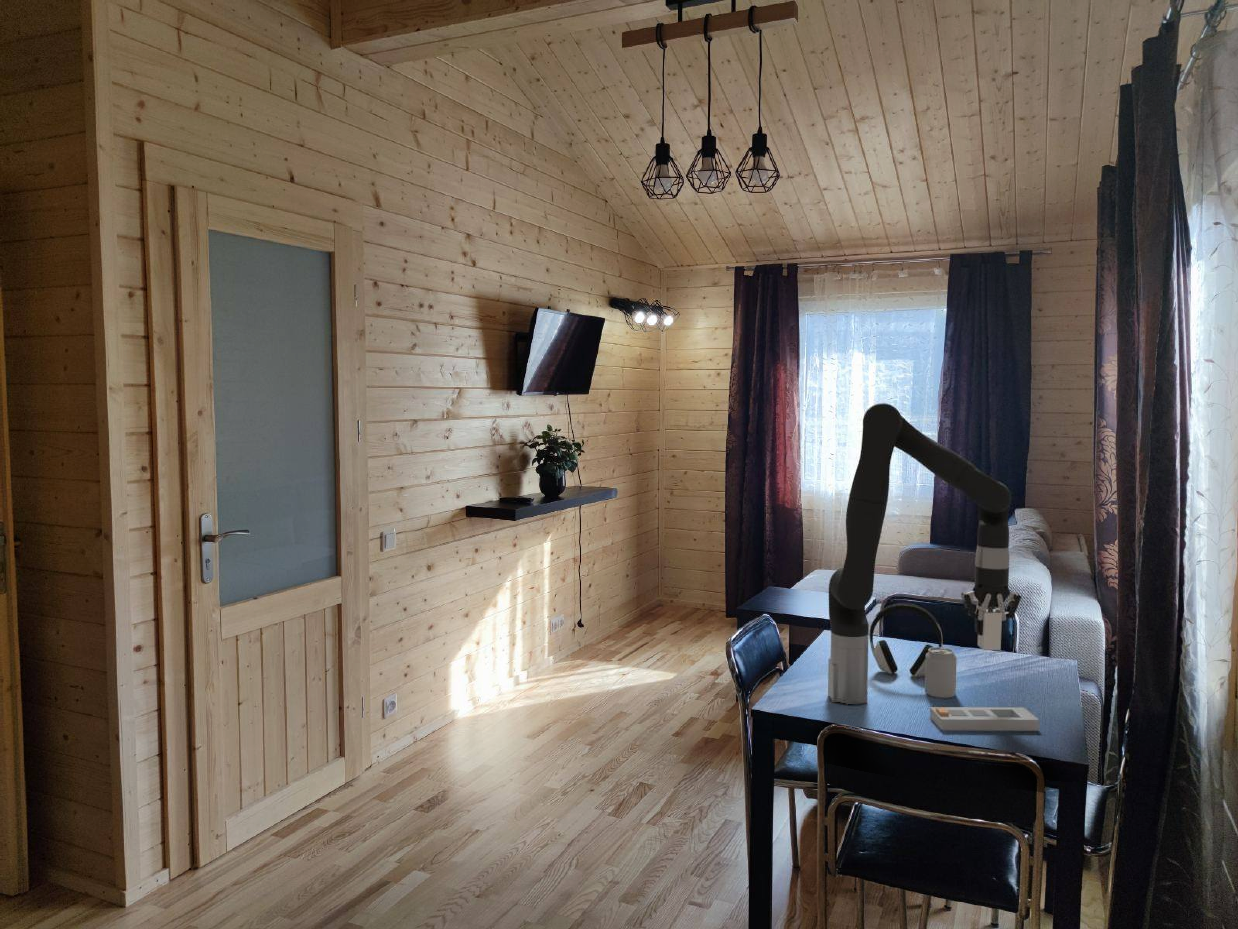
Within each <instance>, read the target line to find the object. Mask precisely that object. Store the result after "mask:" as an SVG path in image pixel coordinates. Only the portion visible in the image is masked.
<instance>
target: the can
mask: <svg viewBox="0 0 1238 929" xmlns="http://www.w3.org/2000/svg"><path fill="white" fill-rule="evenodd" d="M928 651H929V652H928V653H927V654H926V664H925V676H924V692H925V693H926V694H927V695H928V696H930V697H933V698H938V699H951V698H953V697H955V696H956V695H957V694H956V692H957V663H958V662H957V660H958V658H957V656H956V655H955V650H953V649H952V648H949V647H943V646H942V647H939V646H933V647H932V648H929V649H928Z"/></svg>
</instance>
